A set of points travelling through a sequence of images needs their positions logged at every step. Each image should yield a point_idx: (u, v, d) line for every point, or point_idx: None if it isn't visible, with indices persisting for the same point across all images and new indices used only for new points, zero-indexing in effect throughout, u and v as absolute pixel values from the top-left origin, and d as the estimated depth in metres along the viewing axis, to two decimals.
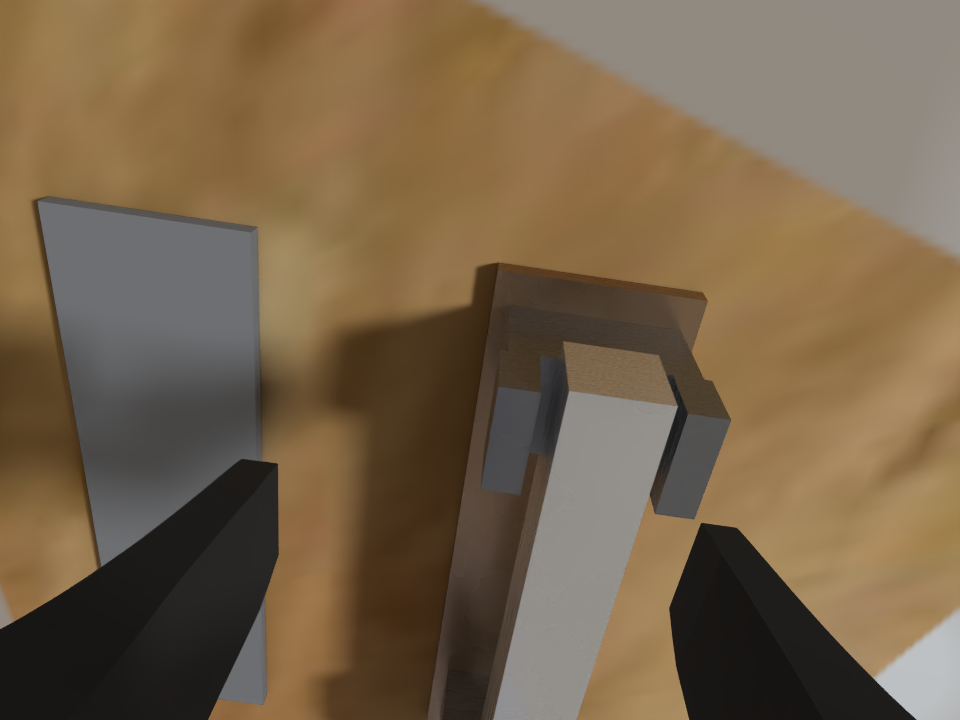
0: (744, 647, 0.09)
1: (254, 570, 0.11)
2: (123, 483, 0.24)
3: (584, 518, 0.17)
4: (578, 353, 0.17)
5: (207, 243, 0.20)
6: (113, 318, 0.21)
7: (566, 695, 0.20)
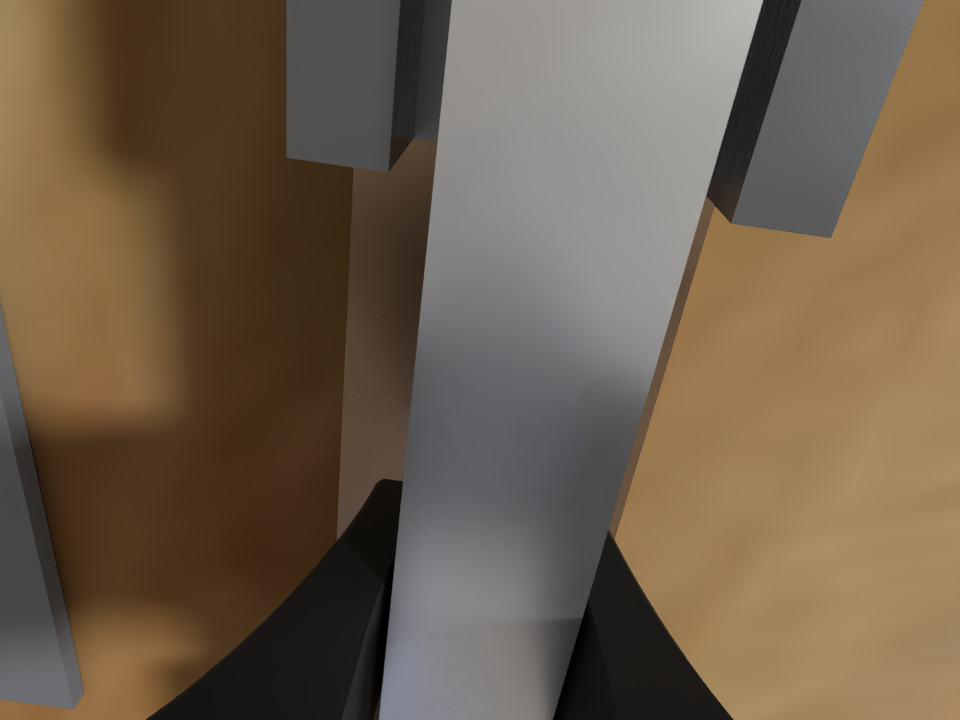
0: None
1: None
2: None
3: (549, 210, 0.06)
4: None
5: None
6: None
7: (523, 689, 0.09)
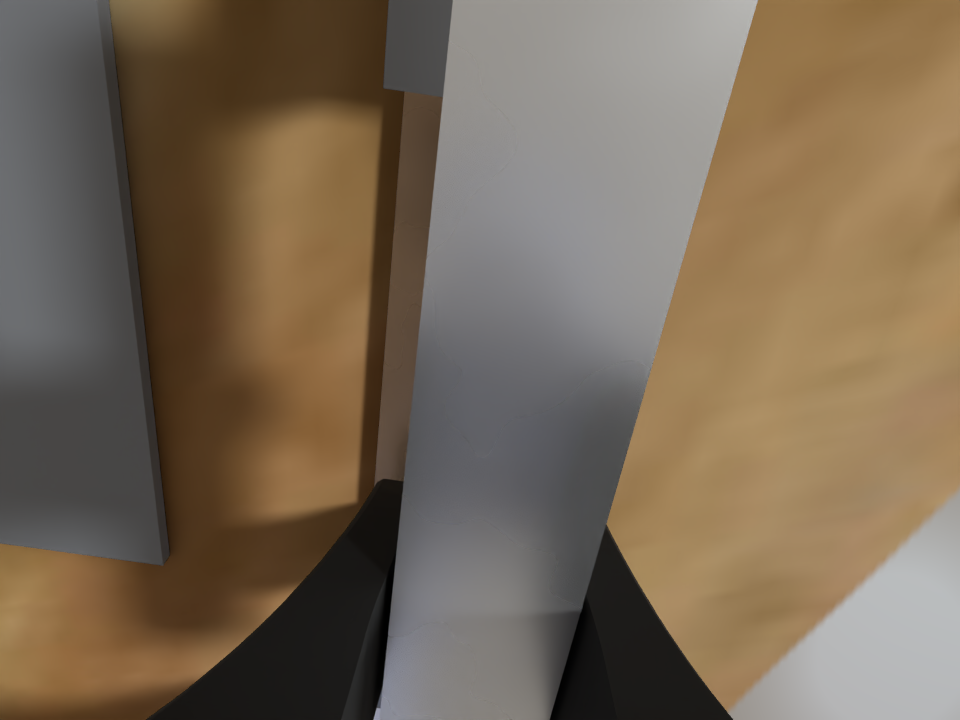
0: None
1: None
2: None
3: (548, 206, 0.06)
4: None
5: None
6: None
7: (523, 680, 0.09)
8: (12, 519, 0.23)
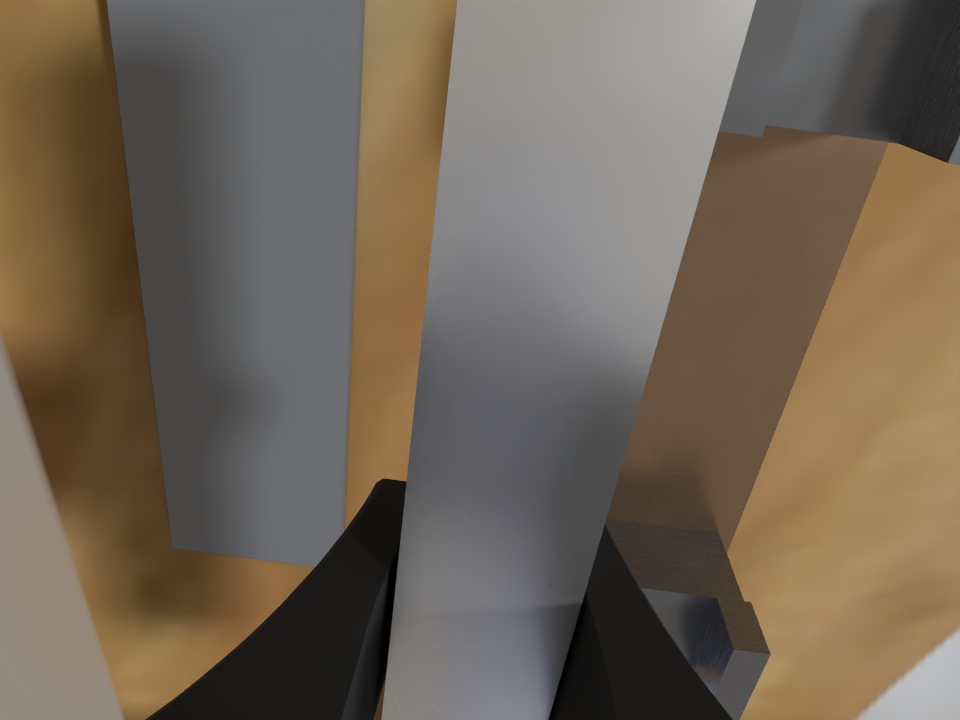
0: None
1: None
2: (183, 256, 0.19)
3: (549, 208, 0.06)
4: None
5: None
6: None
7: (524, 673, 0.10)
8: (199, 527, 0.24)
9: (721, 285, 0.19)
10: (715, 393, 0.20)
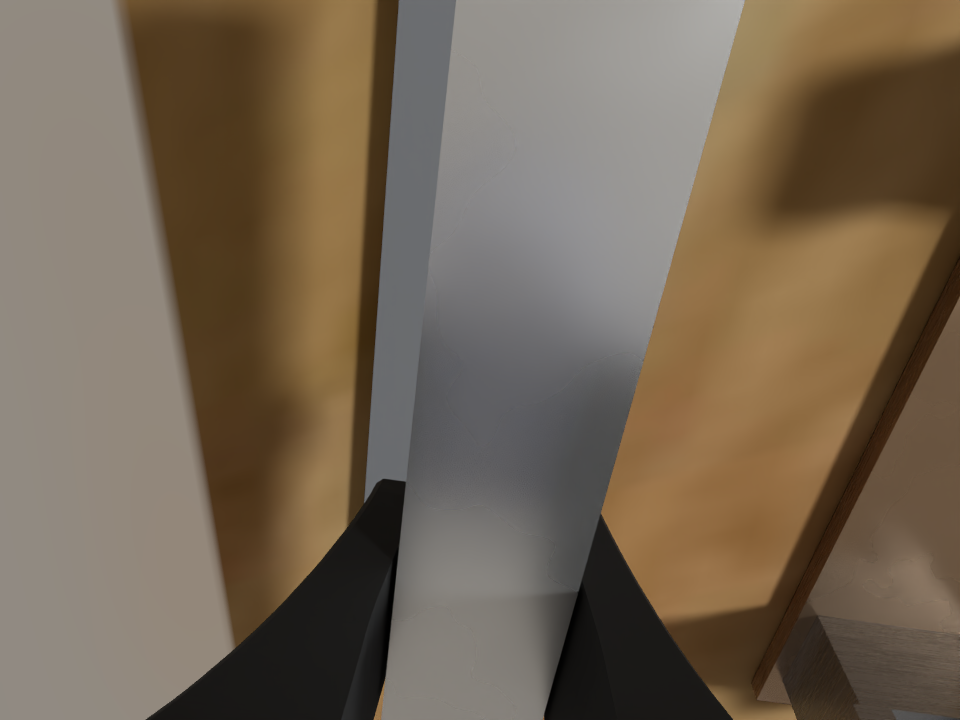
0: (575, 624, 0.09)
1: None
2: None
3: (545, 204, 0.07)
4: None
5: None
6: None
7: (522, 661, 0.10)
8: None
9: None
10: None
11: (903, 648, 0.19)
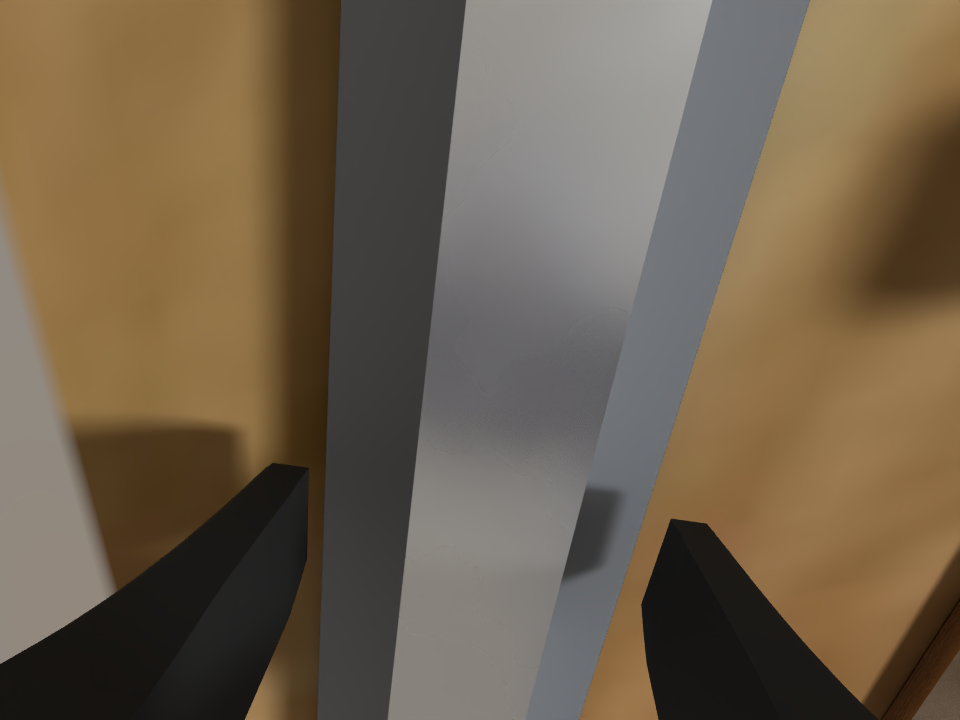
0: (708, 642, 0.09)
1: (286, 574, 0.11)
2: (398, 451, 0.12)
3: (543, 174, 0.08)
4: None
5: None
6: None
7: (523, 599, 0.11)
8: None
9: None
10: None
11: None
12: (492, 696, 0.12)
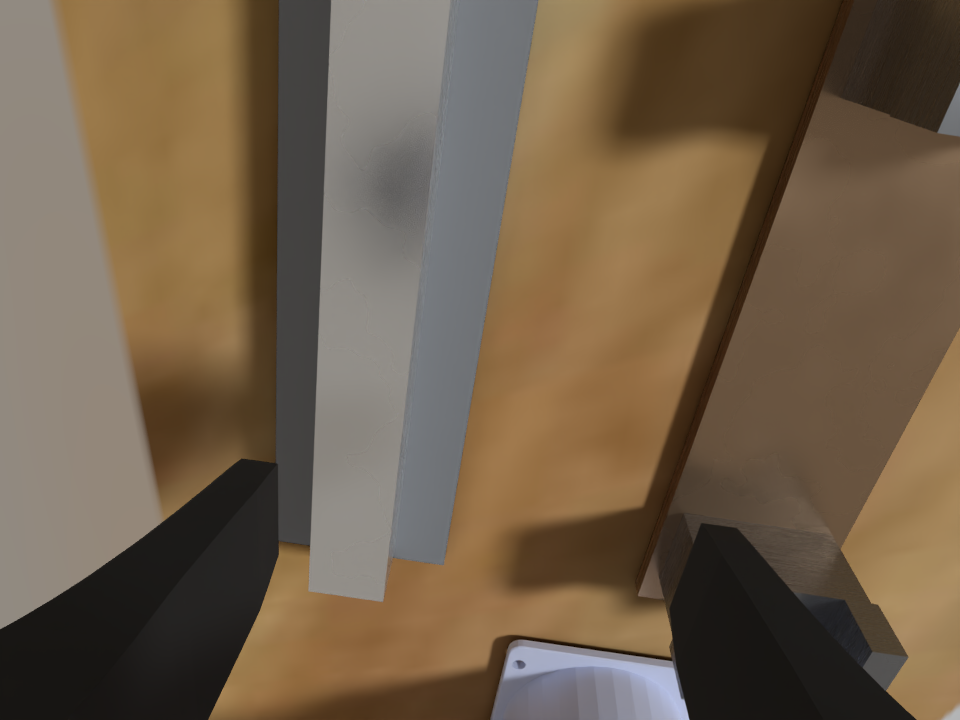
0: (744, 647, 0.09)
1: (254, 570, 0.11)
2: None
3: (381, 30, 0.14)
4: None
5: None
6: None
7: (394, 319, 0.17)
8: (306, 519, 0.24)
9: (868, 288, 0.19)
10: (847, 396, 0.20)
11: (755, 539, 0.22)
12: (381, 398, 0.18)
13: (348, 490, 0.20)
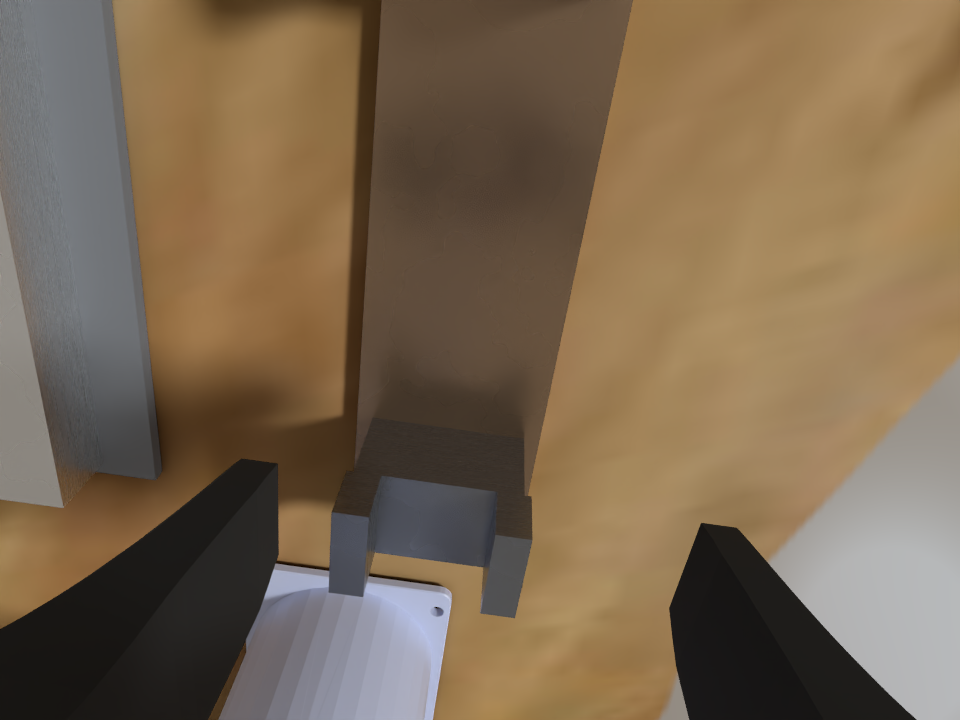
0: (744, 647, 0.09)
1: (254, 570, 0.11)
2: None
3: None
4: None
5: None
6: None
7: None
8: None
9: (487, 168, 0.18)
10: (498, 286, 0.20)
11: (435, 440, 0.22)
12: None
13: None
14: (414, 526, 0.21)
